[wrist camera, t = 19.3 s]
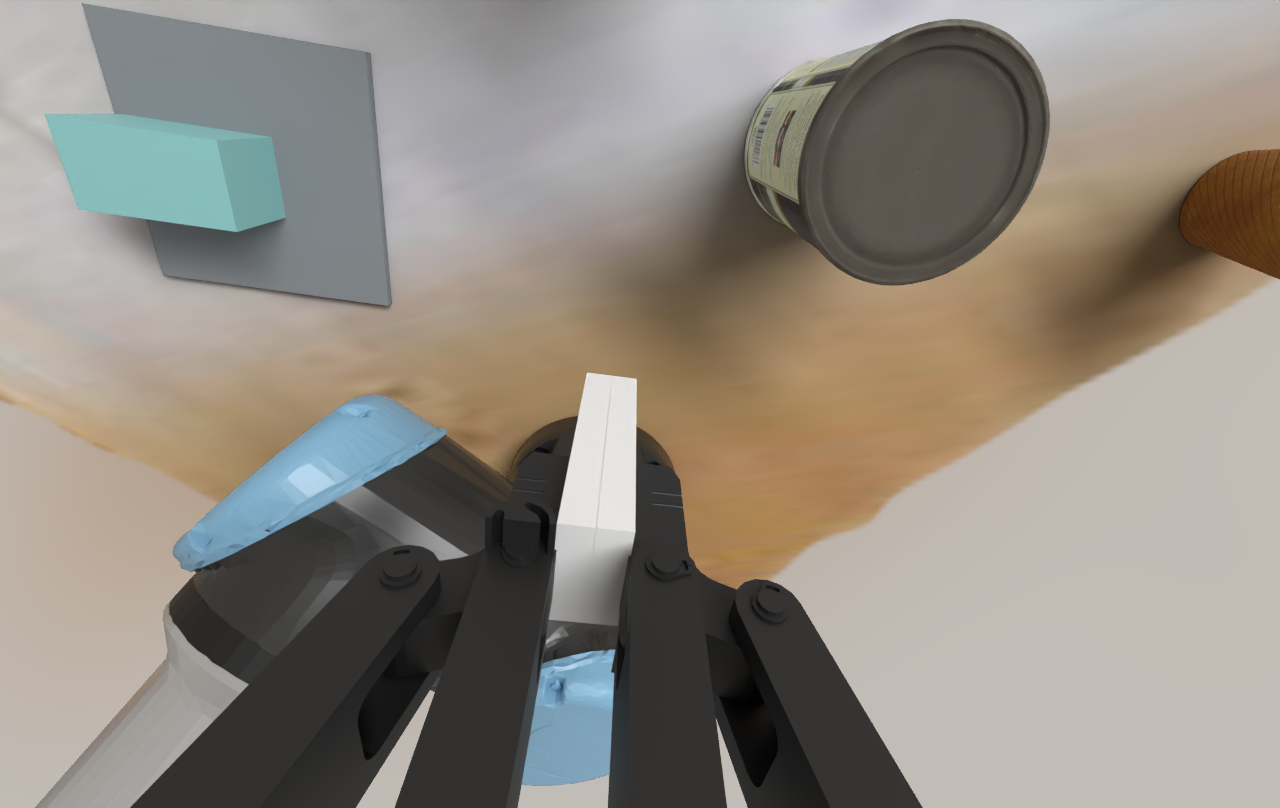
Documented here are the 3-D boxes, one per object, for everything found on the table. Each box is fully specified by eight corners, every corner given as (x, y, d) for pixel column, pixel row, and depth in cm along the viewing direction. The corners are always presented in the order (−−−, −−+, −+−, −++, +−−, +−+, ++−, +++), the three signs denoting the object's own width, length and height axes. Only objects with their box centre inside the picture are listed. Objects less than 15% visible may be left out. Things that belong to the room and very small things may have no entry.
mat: (391, 303, 40) (388, 305, 39) (169, 272, 38) (162, 274, 38) (370, 53, 32) (365, 52, 31) (91, 5, 31) (81, 3, 30)
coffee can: (903, 206, 36) (1039, 253, 24) (756, 245, 38) (813, 310, 25) (899, 31, 31) (1067, -22, 19) (730, 83, 33) (786, 65, 20)
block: (237, 232, 32) (75, 209, 31) (285, 217, 36) (144, 197, 35) (216, 140, 29) (40, 113, 28) (271, 137, 34) (119, 113, 33)
